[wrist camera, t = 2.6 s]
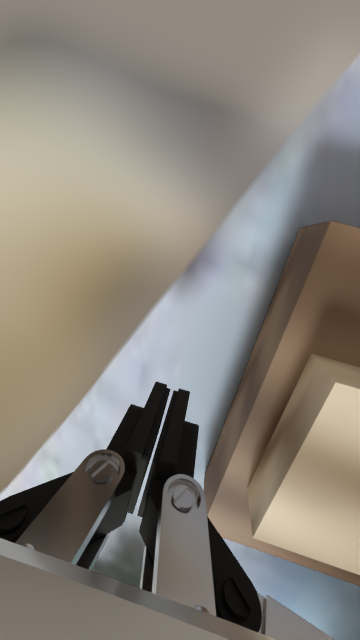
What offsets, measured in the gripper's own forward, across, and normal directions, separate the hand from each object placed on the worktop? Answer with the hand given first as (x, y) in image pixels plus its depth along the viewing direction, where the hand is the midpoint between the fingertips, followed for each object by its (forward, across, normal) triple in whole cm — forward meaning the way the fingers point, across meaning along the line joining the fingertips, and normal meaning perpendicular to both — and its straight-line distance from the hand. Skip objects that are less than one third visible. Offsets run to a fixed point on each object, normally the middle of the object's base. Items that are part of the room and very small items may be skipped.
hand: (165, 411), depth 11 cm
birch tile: (+2, -9, 0) cm, 9 cm away
